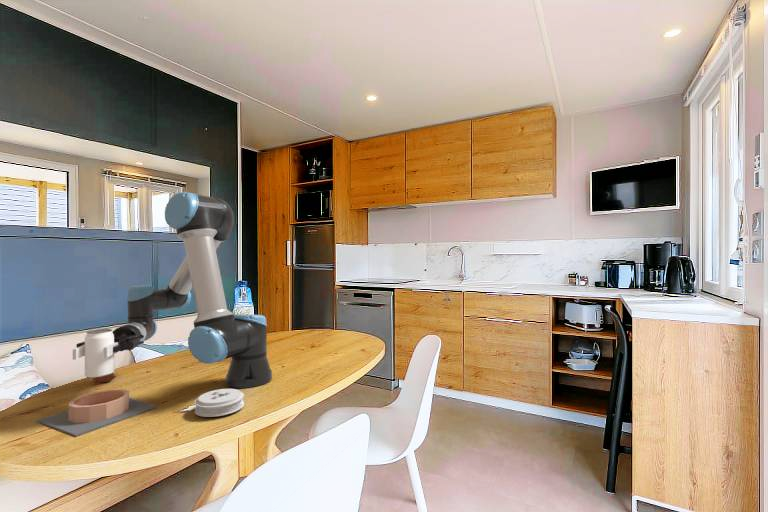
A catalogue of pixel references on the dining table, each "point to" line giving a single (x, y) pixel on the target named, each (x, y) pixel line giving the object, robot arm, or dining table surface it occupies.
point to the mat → (77, 429)
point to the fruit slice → (104, 378)
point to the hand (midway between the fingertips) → (90, 353)
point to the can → (98, 353)
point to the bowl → (98, 406)
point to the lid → (219, 402)
